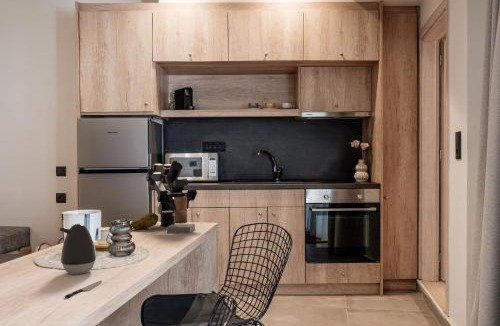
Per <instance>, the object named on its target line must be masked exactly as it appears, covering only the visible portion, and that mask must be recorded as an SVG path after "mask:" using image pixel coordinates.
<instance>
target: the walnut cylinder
mask: <svg viewBox="0 0 500 326" xmlns="http://www.w3.org/2000/svg"><path fill="white" fill-rule="evenodd" d="M174 204H175V207H176V210H174V222H175V224H188V209H187V197H174Z"/></svg>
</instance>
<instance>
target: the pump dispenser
mask: <svg viewBox="0 0 500 326" xmlns="http://www.w3.org/2000/svg"><path fill="white" fill-rule="evenodd" d="M59 231H60V232H63V233H65V238H64V240H63V244H62V248H61V258H60V263H61V264H62V267H63V269H64V270H65V272H67V273H68V274H71V275H83V274H86V273H89V272H90V271H91V270H92V269H93V267H94V265H95V262H96V259H97V257H96V256H97V255H96V249H95V243H94V241H93V238H92V235H91V234H90V232H89V229H88V228H87V227H86V225H84V224H83V223H82V224H81V223H76V224H72V225H71V227H69V228H67V227H61V226H60V227H59Z"/></svg>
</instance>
